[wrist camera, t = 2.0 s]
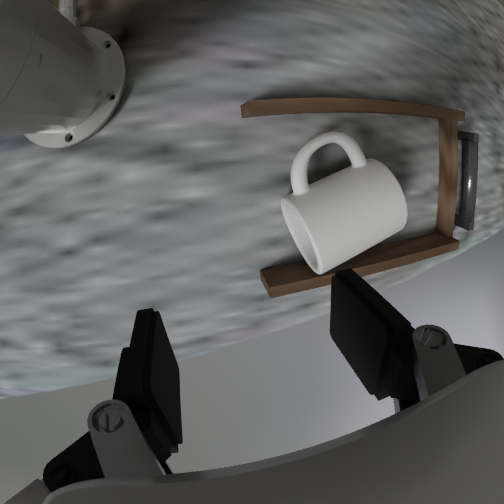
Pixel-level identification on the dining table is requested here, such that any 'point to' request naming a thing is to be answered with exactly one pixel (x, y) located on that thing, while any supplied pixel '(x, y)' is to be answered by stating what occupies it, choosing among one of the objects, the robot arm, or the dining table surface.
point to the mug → (342, 205)
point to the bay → (402, 251)
